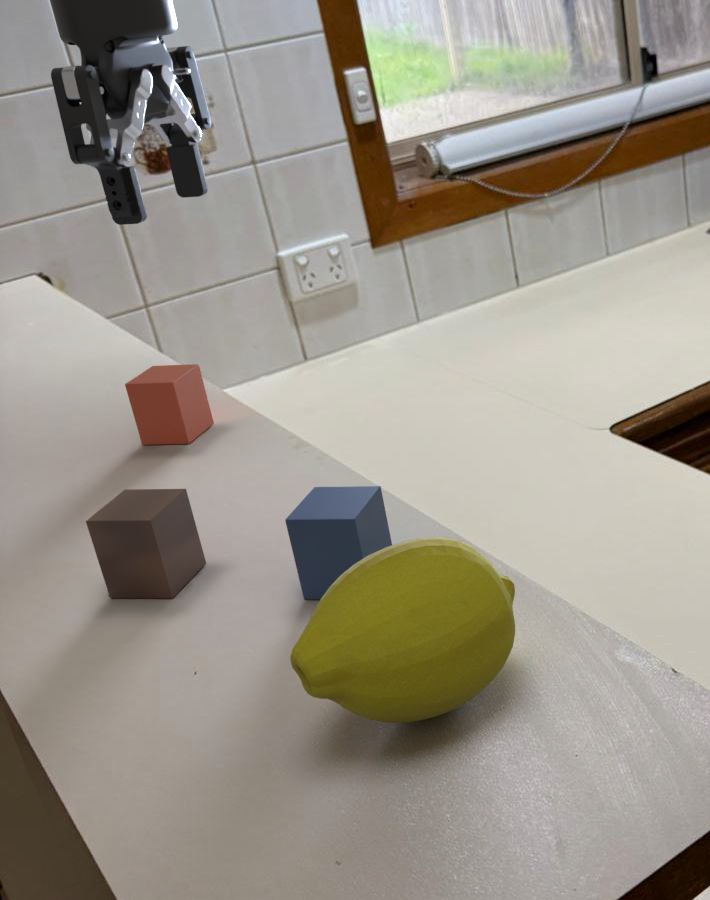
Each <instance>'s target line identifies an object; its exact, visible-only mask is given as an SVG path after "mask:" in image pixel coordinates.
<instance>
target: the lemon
mask: <svg viewBox="0 0 710 900" xmlns="http://www.w3.org/2000/svg"><path fill="white" fill-rule="evenodd" d="M515 595H516V588H515V583H514V582H513V581H512V580H511V579H510V577H509V576H506V575H503V574H500V573H499V571H498V569H497V568H496V567H495V566H494V565H493V564H492V563H491V562H490V560H489V559H488V558H487V557H485V556H484V555H483V554H481V553H480V552H479V551H478V550H477V549H475V548H474V547H473V546H471V545H470V544H469V543H466V542H462V541H460V540H457V539H455V538H448V537H437V536H430V537H418V538H417V537H416V538H413V539H408V540H404V541H401V542H398V543H394V544H392V545H391V546H388V547H386V548H383V549H381V550H379V551H377V552H375V553H373V554H371V555H369V556H367V557H365V558H363V559H362V560H360V561H359V562H357V563H356V564H354V565H353V566H352V567H350V568H349V569H348V570H347V571H345V572H344V573H343V574H342V575H341V576H340V577H339V578H338V579H337V580H336V581H335V582H334V583H333V584H332V585H331V586H330V587H329V588H328V590H327V591H326V593H325V594H324V595H323V597H322V598H321V599H320V600H319V601H318V603H317V604H316V606H315V607H314V610H313V611H312V613H311V616H310V618H309V620H308V622H307V625H306V626H305V628H304V630H303V631H302V633H301V634H300V636H299V638H298V639H297V641H296V642H295V644H294V645H293V647H292V649H291V652H290V655H289V656H290V658H289V659H290V664H291V667H292V670H293V671H294V672H295V673H296V674H297V675H298V678H299V679H300V682H301V685H302V687H303V689H304V692H306V694H307V695H309V696H311V697H312V698H315V699H320V700H329V701H332V702H334V703H336V704H337V705H338V706H340V707H342V708H343V709H345V710H346V711H348V712H350V713H351V714H354V715H356V716H359V717H362V718H365V719H368V720H371V721H376V722H383V723H397V724H398V723H399V724H400V723H403V724H404V723H410V722H411V723H412V722H419V721H423V720H424V721H425V720H427V719H432V718H436V717H439V716H441V715H444V714H446V713H449V712H451V711H454V710H456V709H457V708H459V707H461V706H462V705H464V704H466V703H468V702H470V700H472V699H473V698H475V697H476V696H477V695H478V694H479V693H481V692H482V691H483V690H484V689H485V688H486V687H487V686H488V685H490V684H491V683H492V682H493V681H494V680H495V679H496V677H497V676H498V674H499V673H500V672H501V670H502V669H503V668H504V667H505V664H506V663H507V661H508V658H509V657H510V654H511V652H512V650H513V648H514V642H515V635H516V622H515V621H516V620H515V614H514V609H513V608H514V607H513V604H514V601H515V600H514V599H515Z"/></svg>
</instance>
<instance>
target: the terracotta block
mask: <svg viewBox="0 0 710 900" xmlns="http://www.w3.org/2000/svg"><path fill="white" fill-rule="evenodd" d="M124 386H125V389H126V393H127V397H128V401H129V404H130V408H131V410H132V415H133V418H134V422H135V425H136V428H137V432H138V435H139V439H140V443H141V445H143V446H147V445H148V446H151V445H152V446H153V445H154V446H155V445H190V444H191V443H192V442H193V441H194V440H196V439H197V438H198V437H199V436H201V435H202V434H203V433H204V432H205V431H207V430H208V429H209V428H210V427H211V426H212V425H214V423H215V422H214V418H213V414H212V410H211V406H210V403H209V399H208V395H207V391H206V387H205V383H204V379H203V375H202V371H201V367H200V364H198V363H197V364H196V363H195V364H194V363H193V364H170V365H169V364H167V365H166V364H165V365H164V364H163V365H152V366H151V367H150V366H149V368H147V369H146V370H144V371H143V372H141V373H139V374H138V375H136V376H135V377H133V378H132V379H131V380H129V381H128V382H126V383H125V384H124Z"/></svg>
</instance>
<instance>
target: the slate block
mask: <svg viewBox="0 0 710 900" xmlns="http://www.w3.org/2000/svg"><path fill="white" fill-rule="evenodd" d="M383 496H384V495H383V491H382V486H381V485H369V486H368V485H364V486H363V485H362V486H358V485H357V486H355V485H353V486H313V488H312V489H311V490H310V491H309V492H308V494H307V495H306V496H305V497H304V498H303V499H302V500H301V501H300V503H298V505H297V506H296V507H295V508H294V509H292V511H291V512H290V514H289V515H288V516H287V517H286V518H285V520H284V521H285V525H286V529H287V534H288V537H289V542H290V547H291V551H292V555H293V559H294V563H295V567H296V571H297V576H298V580H299V585H300V588H301V593H302V597H303V600H313V601H314V600H319V601H320V599H321V598H322V597H323V595H324V594H325V593H326V591H327V590H328V588H329V587H330V586H331V585H332V584H333V583H334V582H335V581H336V580H337V579H338V578H339V577H340V576H341V575H342V574H343V573H344V572H345V571H347V570H348V569H349V568H350V567H352V566H353V565H354V564H356V563H357V562H359V561H360V560H362V559H363V558H365V557H367V556H369V555H371V554H373V553H375V552H377V551H379V550H381V549H383V548H386V547H388V546H391V545H393V542H392V536H391V532H390V531H391V530H390V527H389V522H388V517H387V511H386V507H385V502H384V501H385V500H384V497H383Z"/></svg>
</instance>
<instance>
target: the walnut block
mask: <svg viewBox="0 0 710 900" xmlns="http://www.w3.org/2000/svg"><path fill="white" fill-rule="evenodd" d="M193 512H194V511H193V509H192V506H191V502H190V498H189V495H188V490H187V488H139V489H137V488H136V489H135V488H134V489H129V488H128V489H124V490H122V491H121V492H120V493H118V494H117V495H116V496H115V497H113V498H112V499H111V500H110V501H109V502H108V503H106V504H105V505H104V506H103V507H101V508H100V509H99V510H97V511H96V512H95V513H94V514H93V515H91V516H90V517H88V519H86V520H85V524H86V527H87V530H88V533H89V536H90V540H91V542H92V546H93V548H94V549H93V550H94V552H95V555H96V558H97V561H98V565H99V569H100V571H101V575H102V577H103V580H104V584H105V587H106V590H107V594H108V597H109V598H110V599H173V598H175V596H177V594H179V592H180V591H181V590H183V588H184V587H185V586H187V584H188V583H189V582H190V581H191V580H192V579H193V578H194V577H195V576H196V575H197V574H198V573H199V571H201V570H202V568H204V566H205V565H206V564H207V561H206V557H205V552H204V550H203V545H202V542H201V538H200V534H199V531H198V527H197V524H196V520H195V517H194V513H193Z"/></svg>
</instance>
